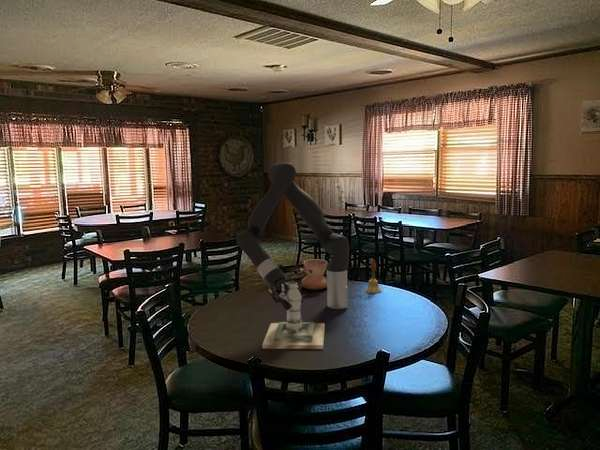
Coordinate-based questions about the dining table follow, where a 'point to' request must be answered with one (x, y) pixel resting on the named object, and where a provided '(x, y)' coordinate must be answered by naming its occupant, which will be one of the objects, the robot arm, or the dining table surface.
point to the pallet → (294, 343)
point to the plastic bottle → (293, 309)
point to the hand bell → (373, 281)
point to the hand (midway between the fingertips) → (295, 305)
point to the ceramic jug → (314, 274)
